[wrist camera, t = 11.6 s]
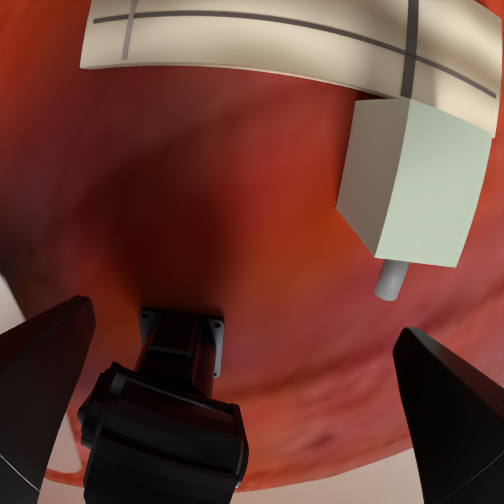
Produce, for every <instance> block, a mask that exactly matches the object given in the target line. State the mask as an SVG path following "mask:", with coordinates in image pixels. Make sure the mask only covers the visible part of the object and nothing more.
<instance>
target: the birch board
mask: <svg viewBox="0 0 504 504" xmlns="http://www.w3.org/2000/svg"><path fill="white" fill-rule="evenodd" d="M130 66H206V67H222V68H234V69H245V70H254V71H262V72H269V73H277V74H283V75H289V76H295V77H301V78H306V79H312V80H317V81H322V82H326V83H331V84H335V85H340V86H344V87H348V88H352V89H356V90H360V91H363V92H367V93H371V94H374V95H378V96H381V97H384V98H388V99H413V100H416V101H418V102H421V103H424V104H426V105H429V106H432V107H434V108H437V109H439V110H442V111H444V112H446V113H449V114H451V115H453V116H456V117H458V118H460V119H462V120H465V121H467V122H469V123H471V124H473V125H475V126H477V127H479V128H481V129H483V130H485V131H487V132H489V133H491V134H493V135H492V138H495V132H496V125H497V118H498V110H499V100H500V89H501V74H502V24H501V18H499V17H498V16H497V15H495V14H494V13H492V12H491V11H489V10H488V9H486V8H485V7H484V6H482V5H480V4H479V3H477V2H476V1H474V0H92V2H91V6H90V11H89V16H88V20H87V25H86V31H85V36H84V42H83V48H82V55H81V62H80V68H84V69H90V70H93V69H103V68H115V67H130Z"/></svg>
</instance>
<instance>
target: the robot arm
mask: <svg viewBox="0 0 504 504" xmlns="http://www.w3.org/2000/svg"><path fill="white" fill-rule="evenodd" d="M144 313H146V314H147V315H145V314H144ZM139 322H140V330H141V338H142V346H143V347H142V349H141V352H140V355H139V357H138V360H137V363H136V365H135V368H134V371H132V370H130V369H127V368H125V367H123V366H121V364H119V363H117V362H114V361H113V363H112V365H111V366H110V368H109V369H106V370H105V372H104V373H100V375H99V378H98V380H97V382H96V384H95V387H94V389H93V390H92V392H91V394H90V395H89V396H88V397H87V399H86V400H85V401H84V403H83V404H82V405H81V407H80V408H79V410H78V413H77V418H78V420H79V422H80V424H81V426H82V427H81V434H82V437H81V445H82V446H84V447H86V448H88V449H91V452H90V455H89V459H88V463H87V467H86V471H85V475H84V480H83V485H84V488H85V490H84V499H85V502H86V504H230V501H231V498H232V495H233V492H234V490H235V488H237V487H238V486H239V484H240V483H241V481H242V479H243V477H244V474H245V472H246V468H247V464H248V457H249V448H248V442H247V438H246V433H245V429H244V425H243V420H242V416H241V412H240V407H239V405H237V404H233V403H231V404H228V403H224V402H221V401H218V400H214V399H212V389H213V380H214V378H217V377H219V376H220V367H221V356H222V345H223V334H224V323H225V322H224V320H223V319H222V318H221V317H216V316H207V315H199V314H191V313H183V312H176V311H168V310H161V309H154V308H147V307H143V308H142V309H141V310H140V312H139ZM215 323H220V324H219V325H217V324H215ZM95 325H96V321H95V316H94V310H93V305H92V301H91V299H90V298H89V297H85V296H80V295H77V296H74V297H72V298H70V299H68V300H66V301H64V302H62V303H60V304H58V305H56V306H54V307H52V308H50V309H48V310H47V311H45V312H43V313H41V314H39V315H37V316H35V317H33V318H31V319H29V320H27V321H25V322H23V323H21V324H20V325H17V326H16V327H14V328H12V329H10V330H8V331H6V332H4V333H2V334H0V504H37V501H38V497H39V491H40V489H41V485H42V482H43V478H44V475H45V471H46V468H47V465H48V461H49V458H50V455H51V452H52V449H53V446H54V443H55V440H56V437H57V434H58V431H59V428H60V426H61V422H62V420H63V417H64V415H65V412H66V409H67V407H68V404H69V401H70V399H71V396H72V394H73V391H74V389H75V386H76V384H77V381H78V379H79V376H80V374H81V371H82V368H83V365H84V362H85V358H86V355H87V352H88V349H89V345H90V342H91V339H92V336H93V333H94V330H95ZM393 359H394V364H395V369H396V375H397V380H398V386H399V391H400V397H401V401H402V405H403V408H404V412H405V416H406V420H407V424H408V428H409V432H410V436H411V440H412V444H413V449H414V453H415V458H416V462H417V467H418V472H419V477H420V482H421V487H422V493H423V499H424V504H504V388H503V387H501V386H500V385H498V384H497V383H496V382H494V381H493V380H491V379H490V378H489V377H487V376H486V375H484V374H483V373H482V372H480V371H479V370H477V369H476V368H475V367H473V366H472V365H470V364H469V363H468V362H466V361H465V360H463V359H462V358H460V357H459V356H458V355H456V354H455V353H453V352H452V351H450V350H449V349H447V348H446V347H445V346H443V345H442V344H440V343H439V342H437V341H436V340H434V339H433V338H431V337H430V336H429V335H427V334H426V333H424V332H423V331H421V330H420V329H418V328H416V327H405V328H404V329H403V330H402V331H401V333H400V335H399V338H398V340H397V342H396V344H395V346H394V348H393ZM214 372H215V373H214Z"/></svg>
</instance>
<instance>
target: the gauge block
mask: <svg viewBox="0 0 504 504" xmlns="http://www.w3.org/2000/svg"><path fill="white" fill-rule="evenodd" d="M492 135H493V134H491V133H489V132H487V131H485V130H483V129H481V128H479V127H477V126H475V125H473V124H471V123H469V122H467V121H465V120H462V119H460V118H458V117H456V116H453V115H451V114H449V113H446V112H444V111H442V110H439V109H437V108H434V107H432V106H429V105H426V104H424V103H421V102H418V101H416V100H413V99H375V100H357V101H355V107H354V114H353V120H352V126H351V132H350V138H349V143H348V149H347V155H346V160H345V165H344V170H343V175H342V180H341V185H340V190H339V195H338V200H337V204H336V210H337V211H338V212H339V213H340V214H341V216H342V217H343V218H344V219H345V221H346V222H347V223H348V224H349V225H350V227H351V228H352V229H353V230H354V232H355V233H356V234H357V236H358V237H359V238H360V239H361V241H362V242H363V243H364V244H365V246H366V247H367V248H368V250H369V251H370V252H371V254H372V255H373V256H374V258H382V259H384V262H383V265H382V268H381V271H380V274H379V277H378V280H377V283H376V286H375V289H374V293H375V294H376V295H377V296H378V297H380V298H381V299H384V300H387V301H394V300H396V298H397V296H398V293H399V290H400V288H401V285H402V283H403V280H404V277H405V275H406V272H407V269H408V266H409V263H410V262H415V263H423V264H431V265H439V266H447V267H455V268H456V266H457V263H458V260H459V258H460V255H461V252H462V249H463V247H464V244H465V241H466V238H467V235H468V232H469V229H470V226H471V223H472V220H473V216H474V213H475V210H476V206H477V203H478V199H479V195H480V191H481V188H482V184H483V179H484V175H485V171H486V166H487V162H488V157H489V152H490V147H491V141H492Z"/></svg>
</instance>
